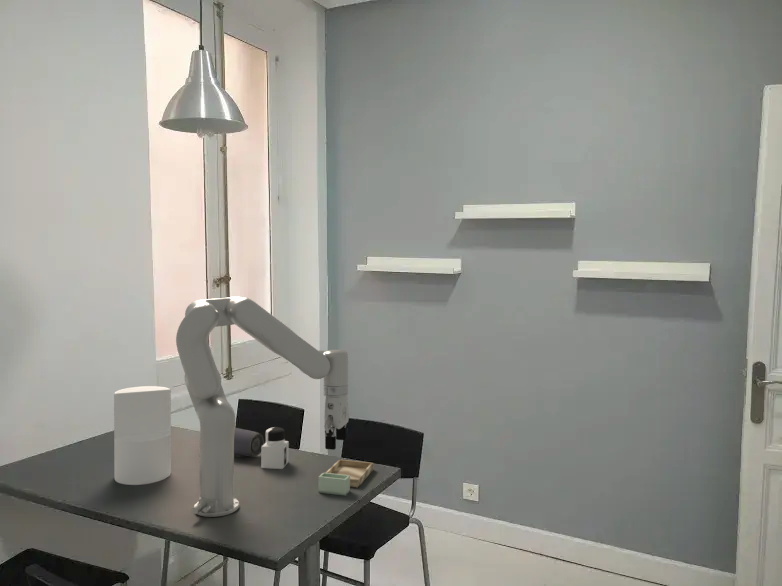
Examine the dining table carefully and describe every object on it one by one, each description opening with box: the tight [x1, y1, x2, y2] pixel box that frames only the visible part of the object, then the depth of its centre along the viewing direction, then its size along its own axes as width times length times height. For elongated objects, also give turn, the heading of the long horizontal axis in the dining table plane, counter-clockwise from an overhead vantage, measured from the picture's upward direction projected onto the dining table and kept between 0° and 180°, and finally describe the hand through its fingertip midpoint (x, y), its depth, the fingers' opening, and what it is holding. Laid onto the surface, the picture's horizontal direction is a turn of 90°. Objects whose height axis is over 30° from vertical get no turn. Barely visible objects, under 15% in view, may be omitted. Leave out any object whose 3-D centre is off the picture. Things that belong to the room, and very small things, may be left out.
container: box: [260, 426, 290, 470], centre depth 213 cm, size 8×8×13 cm
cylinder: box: [113, 385, 172, 486], centre depth 200 cm, size 17×17×28 cm
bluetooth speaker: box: [234, 427, 265, 458], centre depth 223 cm, size 23×9×10 cm, turn 65°
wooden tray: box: [324, 458, 374, 489], centre depth 203 cm, size 17×12×2 cm
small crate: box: [317, 472, 351, 497], centre depth 190 cm, size 4×9×5 cm, turn 76°
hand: (335, 444), depth 189 cm, fingers open, 9 cm apart
